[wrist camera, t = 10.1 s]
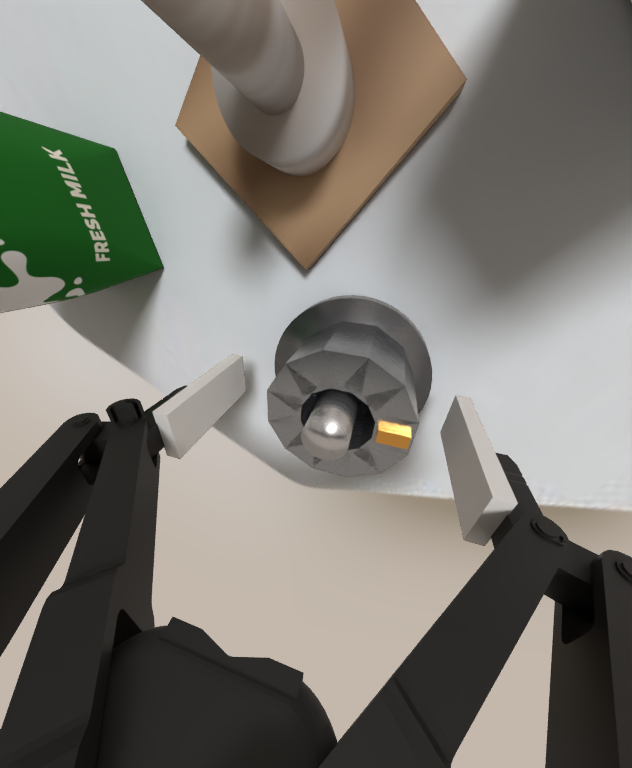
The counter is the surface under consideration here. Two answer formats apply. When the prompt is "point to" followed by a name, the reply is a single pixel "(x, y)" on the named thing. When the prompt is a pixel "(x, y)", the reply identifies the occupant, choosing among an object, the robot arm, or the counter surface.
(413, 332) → the disc
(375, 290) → the counter surface
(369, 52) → the stand
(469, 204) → the counter surface
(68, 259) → the milk carton
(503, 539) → the robot arm
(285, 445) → the clutch ring
